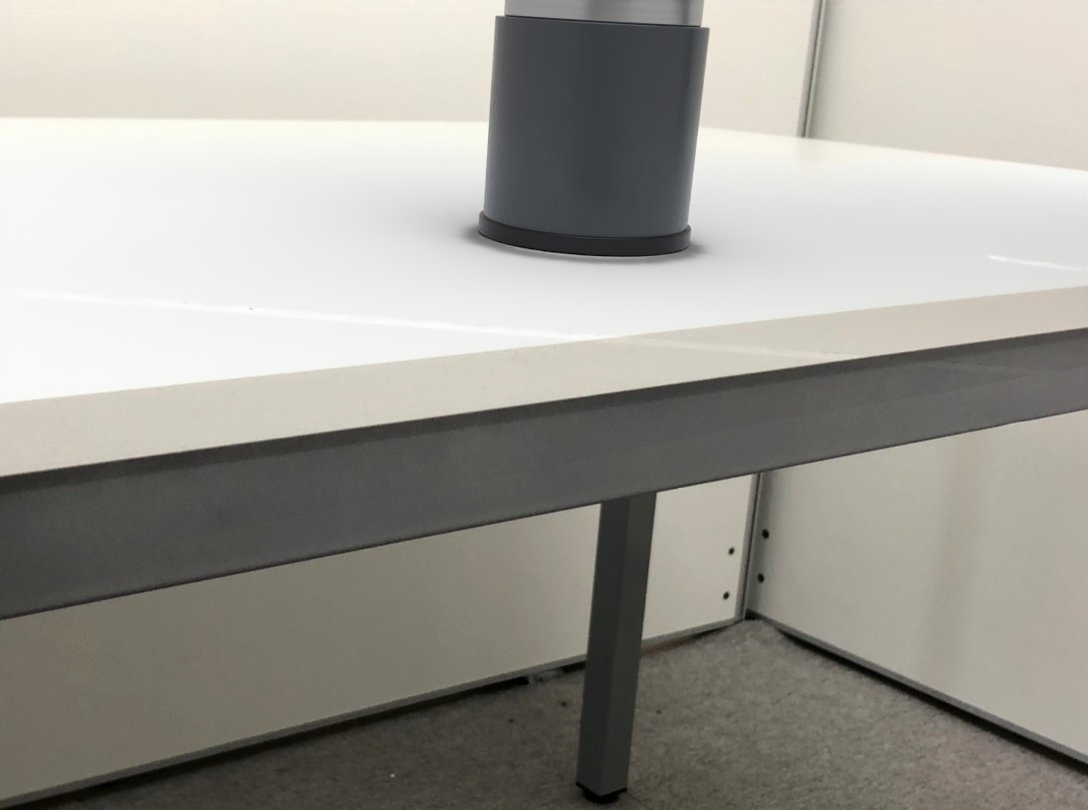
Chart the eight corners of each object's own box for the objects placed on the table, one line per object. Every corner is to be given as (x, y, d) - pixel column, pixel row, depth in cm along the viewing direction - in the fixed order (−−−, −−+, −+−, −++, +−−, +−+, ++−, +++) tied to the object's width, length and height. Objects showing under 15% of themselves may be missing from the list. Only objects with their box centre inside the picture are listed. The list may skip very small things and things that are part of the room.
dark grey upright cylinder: (683, 226, 69) (711, -17, 65) (695, 262, 59) (729, -21, 55) (487, 212, 70) (502, -28, 66) (467, 246, 60) (484, -34, 56)
